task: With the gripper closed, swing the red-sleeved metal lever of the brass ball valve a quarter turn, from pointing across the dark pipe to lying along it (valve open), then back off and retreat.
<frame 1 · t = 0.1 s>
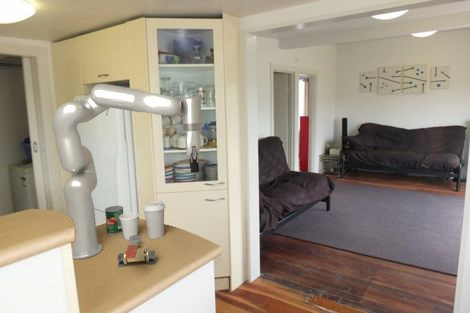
hand: (194, 169, 137), 31 cm above the counter, fingers open, 9 cm apart
canned tomato: (116, 231, 157), on the counter
lever: (133, 245, 118), point 9 cm above the counter, hinge at 0.0°
valve body: (137, 263, 125), on the counter
dixie cup: (131, 237, 149), on the counter
coffee cup: (156, 236, 150), on the counter
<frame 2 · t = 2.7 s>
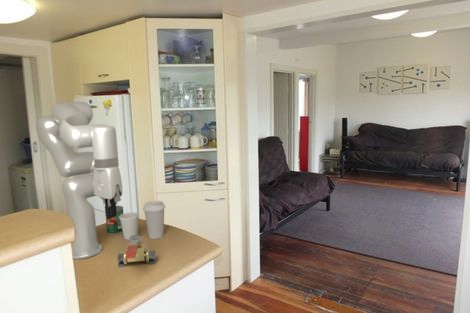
hand: (111, 216, 114), 21 cm above the counter, fingers closed
nothing on the counter moved.
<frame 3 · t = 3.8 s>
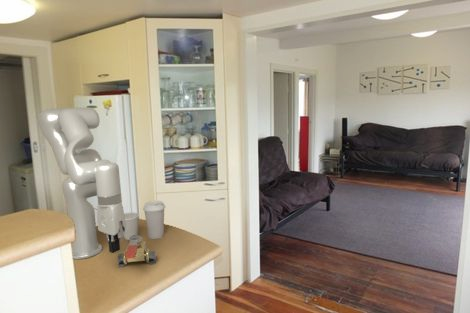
hand: (114, 250, 116), 9 cm above the counter, fingers closed
nothing on the counter moved.
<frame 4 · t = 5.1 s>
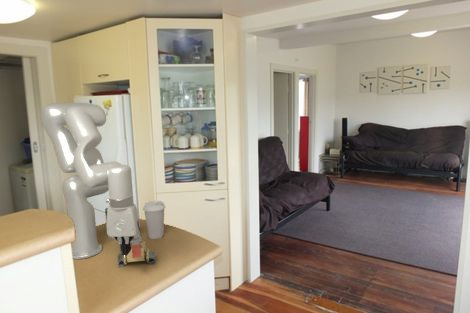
hand: (126, 253, 115), 8 cm above the counter, fingers closed
lever: (136, 245, 118), point 9 cm above the counter, hinge at 9.0°, touching gripper
everything else where it was.
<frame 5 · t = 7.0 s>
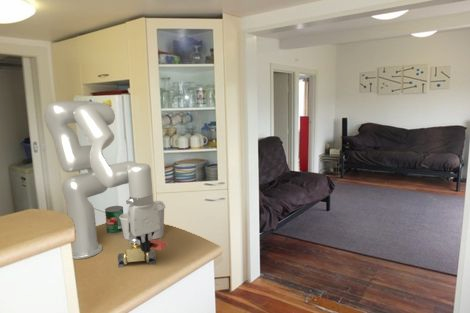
hand: (145, 251, 117), 8 cm above the counter, fingers closed
lever: (146, 242, 121), point 9 cm above the counter, hinge at 53.6°, touching gripper
everything else where it was.
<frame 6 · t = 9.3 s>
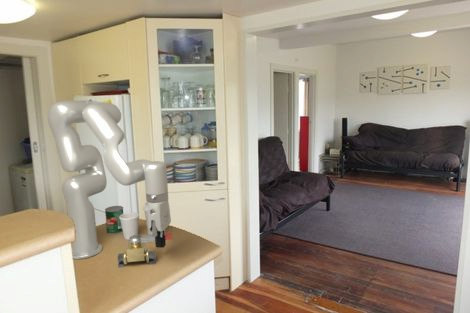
hand: (160, 246, 120), 8 cm above the counter, fingers closed
lever: (150, 238, 124), point 9 cm above the counter, hinge at 94.3°
everything else where it was.
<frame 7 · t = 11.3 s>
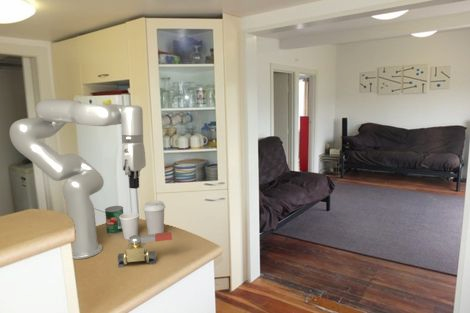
hand: (134, 187, 127), 27 cm above the counter, fingers closed
nothing on the counter moved.
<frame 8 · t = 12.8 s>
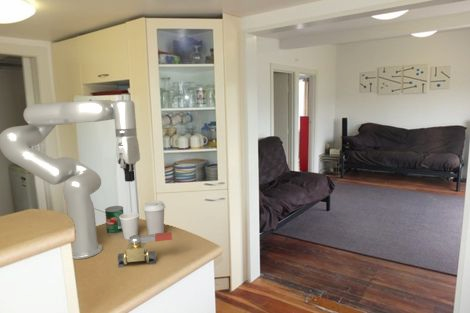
hand: (129, 180, 129), 29 cm above the counter, fingers closed
nothing on the counter moved.
at the end: lever at +94° (first picture: +0°) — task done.
